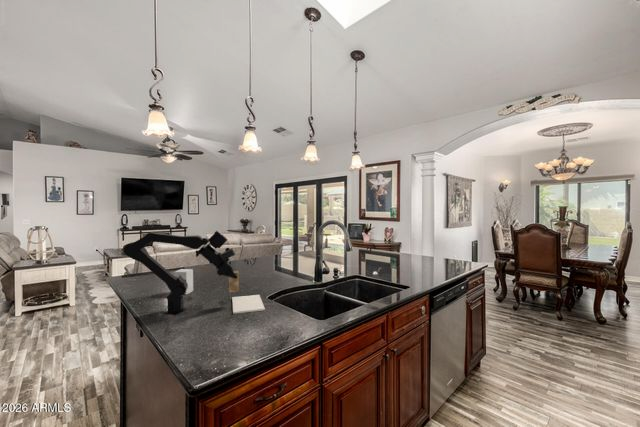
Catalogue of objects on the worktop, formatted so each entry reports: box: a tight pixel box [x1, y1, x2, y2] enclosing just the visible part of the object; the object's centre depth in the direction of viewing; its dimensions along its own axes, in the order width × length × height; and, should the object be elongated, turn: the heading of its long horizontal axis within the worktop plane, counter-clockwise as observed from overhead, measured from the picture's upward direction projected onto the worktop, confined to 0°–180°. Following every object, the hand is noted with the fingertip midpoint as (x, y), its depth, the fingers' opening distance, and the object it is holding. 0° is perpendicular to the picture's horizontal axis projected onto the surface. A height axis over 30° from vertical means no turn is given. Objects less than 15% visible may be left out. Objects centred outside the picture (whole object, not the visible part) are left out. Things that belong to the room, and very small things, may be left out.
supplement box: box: [173, 268, 194, 295], centre depth 155 cm, size 7×7×13 cm
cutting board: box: [231, 294, 266, 314], centre depth 137 cm, size 14×22×1 cm, turn 19°
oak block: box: [228, 270, 240, 293], centre depth 134 cm, size 4×4×9 cm
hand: (236, 276), depth 135 cm, fingers closed on oak block, 4 cm apart
